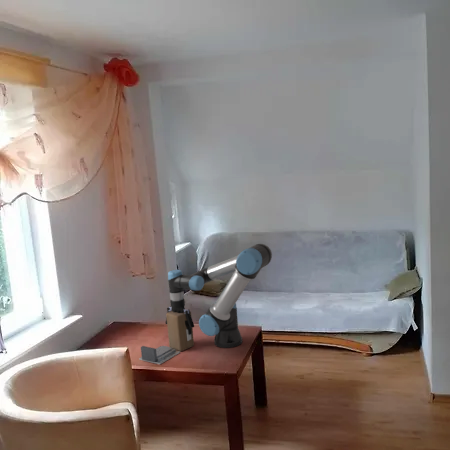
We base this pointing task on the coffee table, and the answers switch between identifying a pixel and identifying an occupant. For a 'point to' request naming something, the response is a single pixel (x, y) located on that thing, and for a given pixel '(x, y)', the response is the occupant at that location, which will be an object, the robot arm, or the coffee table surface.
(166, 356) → the grey l-shaped piece
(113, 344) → the coffee table surface
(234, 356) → the coffee table surface
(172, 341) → the block
